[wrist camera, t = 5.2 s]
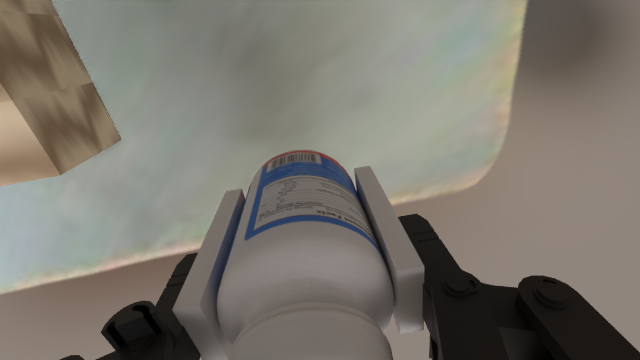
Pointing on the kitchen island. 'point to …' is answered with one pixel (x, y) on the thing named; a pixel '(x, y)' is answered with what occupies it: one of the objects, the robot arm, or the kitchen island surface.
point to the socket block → (45, 97)
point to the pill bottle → (305, 268)
